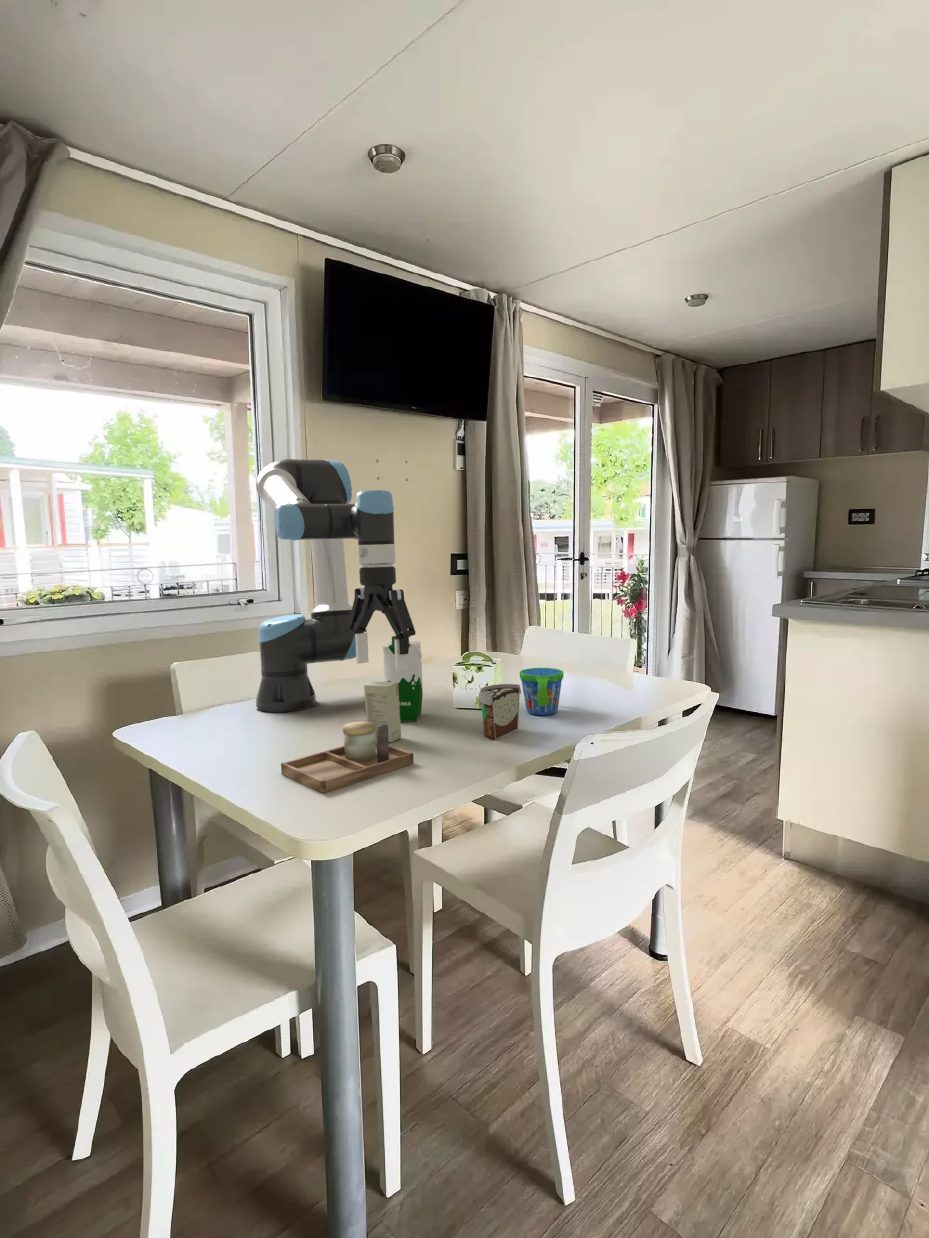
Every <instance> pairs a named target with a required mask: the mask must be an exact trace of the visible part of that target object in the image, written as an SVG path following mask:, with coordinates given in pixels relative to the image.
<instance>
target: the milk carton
mask: <svg viewBox="0 0 929 1238" xmlns="http://www.w3.org/2000/svg"><path fill="white" fill-rule="evenodd" d="M395 637H396V635H392V636H391V641H390V642H387V643H386V644H384V645H383V647H382V648H383V650H382V651H383V655H382V657H383V661H382V662H383V682H398V692H399V707H400V722H417V720H418V719H419V718H420V717H421V714H422V707H423V696H424V695H423V694H424V693H423V667H422V666H423V665H422V664H423V663H422V662H423V661H422V658H423V656H422V649H421V648H422V647H421V641H410V637H409V638H408V647H409V648H408V649H409V652H408V669H406V670H401V671H396V669H395V644H394V639H395Z"/></svg>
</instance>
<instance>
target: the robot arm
mask: <svg viewBox="0 0 929 1238" xmlns="http://www.w3.org/2000/svg"><path fill="white" fill-rule="evenodd" d="M351 480H352V479H351V476H350V473H349V470H348V469H347V467H346V466H345V464H344V463H343V462H342V461H338V460H330V459H295V458H294V459H293V458H283V459H280V460H275V461H274V462H271V463H269V464H267V465H266V466H265V467H264V468H263V469H262V470H261V471H260V472H259V473H258V476H257V478H256V483H255V487H256V490H257V491H256V492H257V494H258V496H259V498H260V499H261V500H262V501H263V502H264V503H265V504H267V505H269V506H271V507H272V509H273V510H274V514H273V516H274V518H273V519H274V520H273V522H274V528H275V529H274V530H275V534H276V536H277V538H278V539H280V540H287V541H288V540H289V541H290V540H291V541H293V542H294V541H301V540H310V547H311V558H312V559H311V560H312V571H313V585H314V598H315V607H314V608H313V609H312V610H311V612H310V618H311V619H310V618H309V619H306V617H305V615H304V614H301V613H299V614H297V613H295V614H288V615H281V616H278V617H277V616H276V617H273V618H269V619H266V620H264V621H263V622H262V623H261V624H260V625H259V627H258V643H259V651H260V652H259V653H260V656H259V657H260V673H261V675H260V676H261V680H260V683H259V687H258V691H257V693H256V699H255V708H256V707H257V708H258V709H259V710H258V709H257V708H256V709H257V710H258V711H261V710H263V711H262V712H266V711H267V713H285V712H294V711H295V712H296V711H301V710H304V709H305V710H306V709H308V708H311V707H314V705H316V704H317V697H316V693H315V691H314V687H313V685H312V682H311V680H310V677H309V674H308V664H316V663H317V664H319V663H325V662H326V663H329V662H338V661H340V662H343V661H345V660H353V659H355V661H356V662H355V663H356V664H358V665H360V664H366V663H369V659H370V658H369V641H368V640H369V639H368V638H369V637H368V630H367V628H368V625H369V623H370V621H371V619H372V617H373V614H374V612H375V611H378V612H381V613H382V614H383V615H385V617H386V620H387V621H388V623H389V625H390V627H391V629H392V630H393V632H394V634H395V636H396V637H395V639H394V644H395V669H396V671H401V670H406V669H408V652H409V649H408V648H409V647H408V638H409V639H410V637H412V636H415V635H416V628H415V627H414V624H413V620H412V618H411V614H410V612H409V609H408V606H407V603H406V601H405V593H404V590H403V588H401V589H393V585H394V584H396V583H397V572H396V567H395V566H393V565H394V564H396V547H395V521H394V520H395V518H394V517H395V516H394V515H395V513H394V511H395V507H394V500H393V494H392V493H391V491H389V490H385V489H384V490H380V489H375V490H373V489H372V490H371V489H370V490H369V489H368V490H361V491H359V492H357V493H356V496H355V498H356V499H355V503H351V501H352V497H353V495H352V492H353V487H352V481H351ZM345 539H353V540H357V544H358V564H359V565H361V566H362V567H360V568H359V569H358V570H359V572H358V573H359V584H360V585H361V586H363V587H360V588H355V589H354V599H353V602H352V605H350V602H349V594H348V593H349V592H348V581H347V569H346V560H345V548H344V546H345V545H344V544H345V543H344V540H345Z"/></svg>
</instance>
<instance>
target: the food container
mask: <svg viewBox="0 0 929 1238" xmlns="http://www.w3.org/2000/svg"><path fill="white" fill-rule="evenodd" d="M520 694H522V691H521V684H516V683H515V684H514V683H500V684H491V685H487V686H483V687H481V689H480V691H479V692H478V698H477V701H478V702H479V703H480V705H481V715H482V722H483V732H484V733H483V734H484V737H485V738H486V737H487V739H488V738H489V739H488V740H491V741H495V740H496V741H498V740H500V739H502V738H503V736H504V737H506V736H508V735H510V734H512V733H514V732H516V731H518V730H519V718H520V717H519V715H520V714H519V713H520V711H519V710H520ZM515 730H516V731H515ZM513 731H514V732H513ZM511 732H512V733H511ZM509 733H510V734H509ZM507 734H508V735H507ZM505 735H506V736H505ZM501 737H502V738H501ZM499 738H500V739H499ZM497 739H498V740H497Z"/></svg>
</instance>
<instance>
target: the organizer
mask: <svg viewBox="0 0 929 1238" xmlns="http://www.w3.org/2000/svg"><path fill="white" fill-rule="evenodd" d="M342 733H343V746H337V747H335V748H332V749H328V750H325V751H321V752H316V753H313V754H311V755H307V756H303V757H299V758H296V759H292V760H288V761H286V762H281V763H280V765H281V766H280V767H281V768H280V769H281V775H283V776H285V777H287V778H289V779H292V780H294V781H296V782H297V783H300V784H302V785H305V786H306V787H309V788H310V789H313V790H315V791H317V792H319V793H321V794H326V793H329V792H332V791H334V790H338V789H341V788H344V787H347V786H350V785H353V784H356V783H359V782H362V781H364V780H369V779H371V778H374V777H377V776H380V775H384V774H386V773H389V772H392V771H395V770H399V769H402V768H405V767H407V766H410V765H414V753H413V752H410V751H407V750H404V749H400V748H399V747H395V746H392V745H390V744H389V743H390V742H388V725H387V724H378V725H376V736H377V741H375V724H374V723H372V722H367V721H354V722H348V723H345V724H344V725H343V726H342Z"/></svg>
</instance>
